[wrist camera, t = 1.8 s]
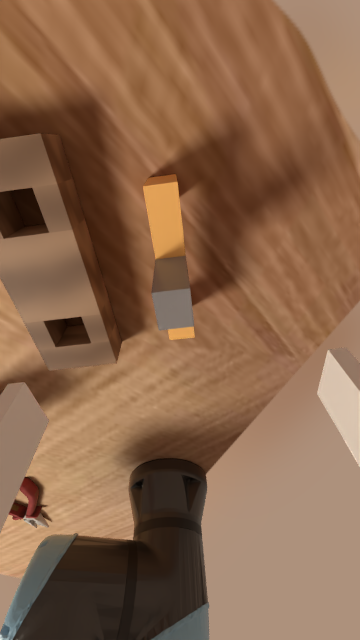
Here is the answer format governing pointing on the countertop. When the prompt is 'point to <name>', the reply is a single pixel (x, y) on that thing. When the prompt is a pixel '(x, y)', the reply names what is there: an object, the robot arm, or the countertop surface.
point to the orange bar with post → (169, 258)
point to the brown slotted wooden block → (53, 258)
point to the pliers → (29, 505)
